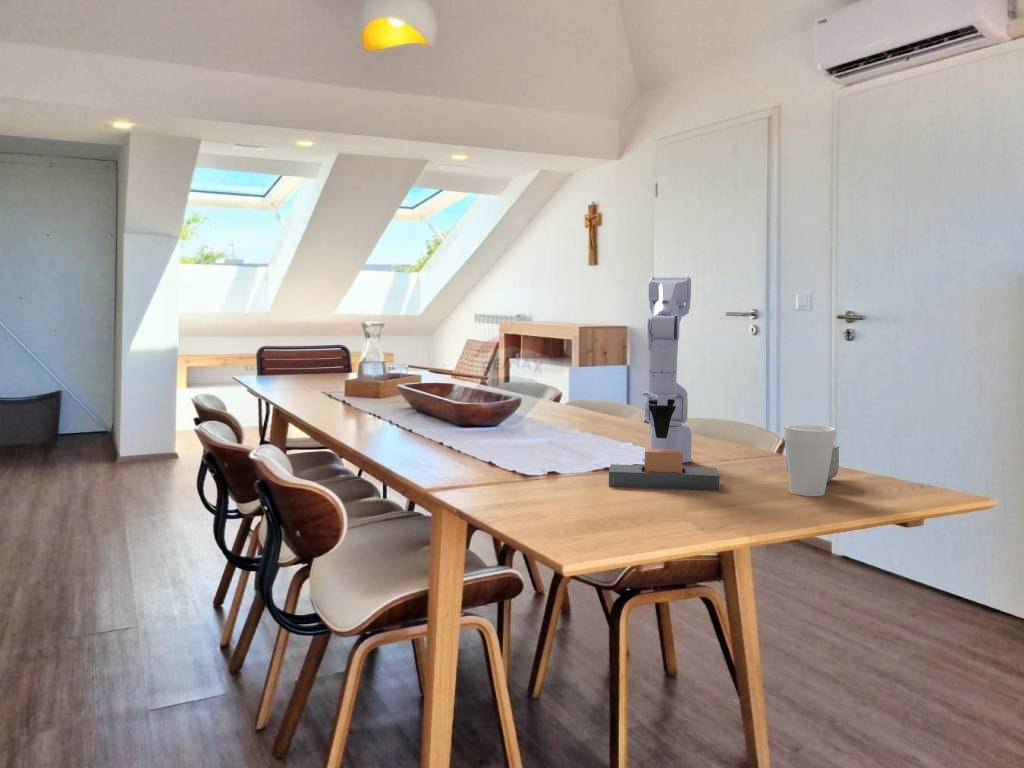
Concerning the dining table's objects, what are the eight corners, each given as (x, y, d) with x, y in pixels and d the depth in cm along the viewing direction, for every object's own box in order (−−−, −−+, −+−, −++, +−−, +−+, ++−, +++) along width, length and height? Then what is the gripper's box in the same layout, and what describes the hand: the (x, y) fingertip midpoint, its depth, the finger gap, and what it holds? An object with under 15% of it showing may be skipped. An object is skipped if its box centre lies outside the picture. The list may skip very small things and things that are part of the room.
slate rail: (716, 482, 172) (716, 468, 171) (719, 490, 164) (719, 475, 164) (610, 478, 175) (610, 464, 175) (608, 486, 168) (608, 471, 167)
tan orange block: (681, 482, 171) (682, 449, 170) (682, 486, 167) (682, 453, 166) (644, 481, 172) (645, 448, 172) (644, 485, 168) (644, 451, 168)
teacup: (812, 488, 166) (814, 449, 165) (772, 478, 176) (774, 441, 175) (859, 482, 172) (861, 444, 172) (819, 473, 182) (820, 437, 181)
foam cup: (827, 500, 156) (829, 432, 155) (777, 494, 161) (780, 428, 160) (836, 491, 164) (839, 426, 163) (789, 485, 169) (791, 423, 168)
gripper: (643, 368, 182) (642, 429, 183) (643, 374, 168) (641, 440, 169) (676, 369, 181) (674, 430, 182) (678, 375, 166) (676, 441, 168)
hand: (661, 435), depth 175 cm, fingers open, 7 cm apart
